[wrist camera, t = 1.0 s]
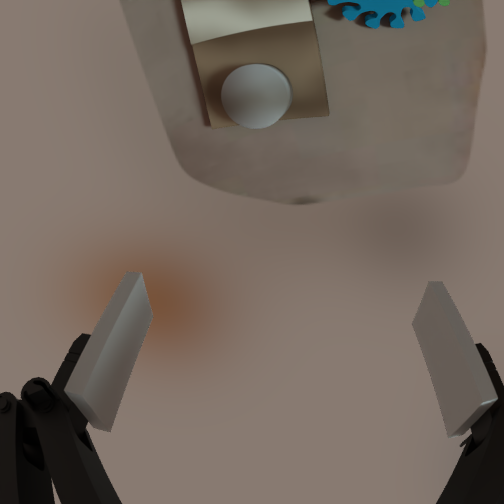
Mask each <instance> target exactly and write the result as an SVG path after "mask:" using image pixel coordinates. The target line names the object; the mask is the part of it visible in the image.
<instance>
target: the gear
mask: <svg viewBox="0 0 504 504" xmlns="http://www.w3.org/2000/svg"><path fill="white" fill-rule="evenodd" d="M327 1H328V3H329V5H337V4H339V3H342V2H353V3H358V4H359V5H358V6H344V7H343V8H342V14H343V15H344V16H345V17H346V18H347V19H348V20H349V21H351V20H354V19H356V17H357V16H358V15H359V14H361V13H363V12H366V11H375V13H374V14H369V15H367V16H365V24H366V25H367V26H369V27H372V28H375V29H376V28H378V27H379V25H380V19H381V18H382V17H383V16H384V15H385V14H386V13H388V12H393V13H394V14H393V15H392V16H390V18H389V21H390V25H391V27H393V28H403V27H404V22H403V19H402V17H401V12H402V9H403V8H404V7H410V8H411V9H410V14H411V17H412V19H413V20H414V21H420V20H423V19H425V14H424V12H423V10H422V9H421V8H419V7H422V6H424V4H426V5H427V6H428V7H433V6H434V5H435V4H436V3H437V2H439V4H440V5H442V6H447V5H449V3H450V1H449V0H327Z"/></svg>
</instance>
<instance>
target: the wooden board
mask: <svg viewBox="0 0 504 504" xmlns="http://www.w3.org/2000/svg"><path fill="white" fill-rule="evenodd" d="M181 3H182V7H183V12H184V16H185V20H186V25H187V29H188V33H189V38H190V42H191V45H192V47H193V51H194V55H195V60H196V64H197V68H198V73H199V77H200V81H201V85H202V90H203V94H204V98H205V102H206V106H207V111H208V115H209V119H210V123H211V127H212V129H217V128H223V127H230V126H237V125H241V126H243V127H247V128H251V129H260V128H265V127H268V126H270V125H272V124H274V123H275V122H276V121H277V120H286V119H297V118H309V117H322V116H329V107H328V100H327V93H326V86H325V80H324V73H323V67H322V61H321V55H320V50H319V44H318V39H317V34H316V29H315V24H314V19H313V14H312V9H311V5H310V0H181Z"/></svg>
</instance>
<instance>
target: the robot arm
mask: <svg viewBox="0 0 504 504" xmlns="http://www.w3.org/2000/svg"><path fill="white" fill-rule="evenodd" d="M152 318H153V314H152V310H151V307H150V303H149V300H148V296H147V292H146V288H145V284H144V280H143V276H142V273H139V272H126V274H125V275H124V277H123V279H122V281H121V282H120V284H119V286H118V287H117V289H116V291H115V293H114V294H113V296H112V298H111V300H110V301H109V303H108V305H107V307H106V309H105V310H104V312H103V314H102V316H101V318H100V320H99V321H98V323H97V325H96V327H95V329H94V331H93V333H92V335H89V334H83V333H82V334H81V335H80V336H79V337H78V338H77V339H76V340H75V341H74V342H73V344H72V346H71V348H70V349H69V353H67V355H66V357H65V360H64V361H63V363H62V365H61V367H60V368H59V370H58V372H57V374H56V376H55V378H54V381H53V382H52V384H51V385H50V384H49V382H48V381H47V380H45V379H44V378H40V377H37V378H32V379H31V380H30V381H28V382H27V383H26V384H25V385H24V386H23V388H22V391H21V399H22V400H18V399H16V397H15V396H14V395H13V394H11V393H10V392H4V393H1V394H0V504H55V501H54V494H53V488H52V481H53V484H54V486H55V489H56V492H57V494H58V497H59V499H60V502H61V504H122V503H121V501H120V499H119V497H118V496H117V493H116V492H115V490H114V488H113V486H112V484H111V482H110V480H109V478H108V476H107V474H106V472H105V470H104V468H103V465H102V464H101V461H100V459H99V456H98V454H97V452H96V450H95V447H94V445H93V443H92V440H91V438H90V435H89V433H88V431H87V430H86V425H87V423H88V422H89V423H90V424H91V425H92V426H93V427H94V428H96V429H100V430H103V431H107V432H111V428H112V426H113V423H114V420H115V417H116V414H117V411H118V408H119V405H120V403H121V400H122V397H123V394H124V391H125V388H126V386H127V383H128V380H129V378H130V375H131V372H132V369H133V367H134V364H135V361H136V359H137V356H138V353H139V351H140V348H141V346H142V343H143V341H144V338H145V336H146V333H147V331H148V328H149V326H150V323H151V321H152ZM412 325H413V328H414V331H415V333H416V336H417V339H418V341H419V344H420V347H421V350H422V353H423V355H424V358H425V361H426V364H427V367H428V370H429V373H430V376H431V379H432V382H433V386H434V389H435V392H436V395H437V399H438V402H439V405H440V409H441V413H442V416H443V420H444V423H445V427H446V431H447V435H448V438H451V437H456V436H460V435H463V434H464V433H465V432H466V431H467V430H468V429H469V428H471V432H472V434H471V435H470V436H469V437H468V438H467V439H466V440H464V441H463V442H462V443H461V445H460V447H462V446H463V445H465V444H466V445H465V447H464V450H463V452H462V454H461V456H460V458H459V461H458V463H457V465H456V467H455V469H454V471H453V473H452V475H451V477H450V479H449V481H448V483H447V485H446V486H445V488H444V490H443V492H442V494H441V496H440V498H439V499H438V501H437V503H436V504H504V385H503V383H502V381H501V378H500V376H499V374H498V372H497V371H496V367H495V365H494V363H493V360H492V358H491V356H490V354H489V352H488V351H487V350H486V348H485V347H484V346H483V345H482V344H481V343H479V344H474V341H473V339H472V337H471V335H470V333H469V331H468V329H467V327H466V325H465V323H464V321H463V319H462V317H461V315H460V313H459V311H458V309H457V308H456V306H455V304H454V302H453V300H452V299H451V296H450V295H449V293H448V291H447V289H446V288H445V286H444V284H443V282H429V283H428V285H427V288H426V291H425V293H424V296H423V298H422V301H421V303H420V306H419V308H418V311H417V313H416V316H415V318H414V320H413V323H412ZM51 478H52V480H51Z"/></svg>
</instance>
